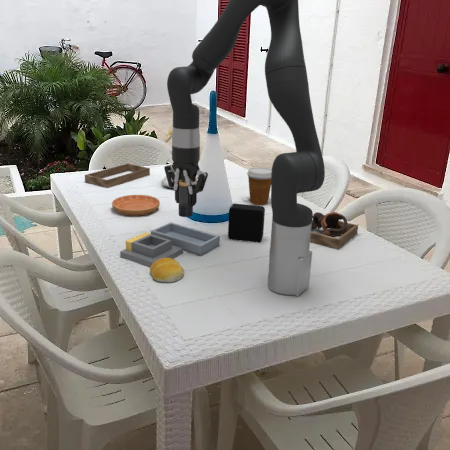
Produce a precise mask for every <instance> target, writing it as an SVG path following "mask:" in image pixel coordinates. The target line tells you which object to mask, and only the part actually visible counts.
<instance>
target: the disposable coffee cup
mask: <svg viewBox="0 0 450 450" xmlns="http://www.w3.org/2000/svg"><path fill="white" fill-rule="evenodd" d="M271 173H272V168H268V167H261V166H260V167H258V166H257V167H256V166H255V167H250V168H249V169H248V171H247V173H246V174H247V177H248V188H249V189H248V190H249V202H250V204H251V205H255V206H266V205H267V204H268V203H269V197H270V194H271V193H270V192H271Z"/></svg>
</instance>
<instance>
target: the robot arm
mask: <svg viewBox="0 0 450 450" xmlns="http://www.w3.org/2000/svg"><path fill="white" fill-rule="evenodd" d="M260 6H262V7H264V8H266V10H267V11H266V12H267V15H268V20H269V26H270V27H269V28H270V42H269V46H268V50H267V53H266V57H265V63H264V76H265V81H266V82H265V83H266V89H267V94H268V98H269V101H270V103H271V104H272V106H273V107H274V108H275V110H276V112H277V114H279V116H280V117H281V118H282V120H283V121H284V122H285V124H286V125H287V128H289V130H290V132H291V134H292V138H293V142H294V146H295V150H296V151H294V152H293V151H291V152H284V153H280V154H278V155H276V157H275V158H274V160H273V162H272V165H271V169H272V173H271V188H270V192H271V193H270V205H271V206H270V207H271V212H272V216H271V217H272V218H271V232H270V233H271V234H270V247H269V261H268V276H267V287H268V288H269V289H270V290H271V291H272V292H274V293H276V294H279V295H280V294H281V295H286V296H296V297H299V296H300V295H301V294H302V293H304V292H305V291H306V290H307V289H308V288H309V286H310V281H311V280H310V278H311V268H312V258H313V251H311V250H310V247H311V242H310V237H311V232H312V231H311V228H312V220H313V215H314V213H313V210H312V208H311V207H309V206H307V205H304V204H301V203H298V194H302V193H307V192H308V193H309V192H314V191H317V190H319V189H321V188H322V186H323V184H324V182H325V177H326V176H325V175H326V173H325V172H326V170H325V168H326V167H325V162H324V161H325V160H324V157H323V153H322V150H321V146H320V145H321V144H320V141H319V137H318V134H317V133H318V132H317V129H316V125H315V120H314V114H313V108H312V102H311V96H310V88H309V87H310V86H309V85H310V84H309V78H308V73H307V72H308V71H307V67H306V62H305V61H306V60H305V55H304V53H305V52H304V49H303V48H304V47H303V40H302V34H301V27H300V15H299V14H300V13H299V12H300V11H299V9H300V8H299V0H228V3H227V5H226V6H225V8H224V10H223V11H222V13H221V14H220V16H219V17H218V19H217V21H216V22H215V24H214V25H213V26H212V28H210V30H209V31H208V33H206V35H205V36H204V37H203V39H202V40H201V41H199V43H198V44H197V45H196V47H195V48H194V50H193V51H192V55H191V58H192V61H191V63H190V64H188V66H178V67H175V68H172V70H170V72H169V74H168V77H167V82H166V86H167V87H166V88H167V93H168V97H169V102H170V106H171V109H172V124H173V131H172V137H171V151H172V154H171V160H172V164H169V165H166V166H164V169H163V170H164V173H165V175H166V176H165V177H167V181H168V184H169V187H168V188H170V187H173V188H172V189H173V190H174V200H175V203H176V204H179V180H184V181H186V185H187V186H188V189H189V193H190V194H189V206H190V207H192V206H193V207H194V206H196V204H197V201H198V200H197V199H198V195H197V194H198V193H199V194H200V193H201V192H203V191H204V189H205V186H206V183H207V179H208V176H209V174H208V172H206V171H205V172H203V171H201V168H200V166H199V163H200V157H201V155H200V153H201V134H200V108H199V107H198V105H197V104H194V103H193V101H192V96H191V95H194V94H197V93H199V92H201V91H202V90H203V89H204V88H205V87H206V86H207V84H208V83H209V81H210V79H211V78H212V76H213V74H214V73H215V71H216V69H217V68H218V67H219V66H220V65H221V64H222V63H223V61H225V59H226V58H227V57H228V56H229V55H230V53H231V52H232V51H233V50H234V47H235V45H236V43H237V40H238V37H239V34H240V31H241V28H242V26H243V24H244V23H245V21H246V19H247V18H248V17H249V16H250V15H251V14H252V13H253V12H254V11H255V10H256V9H257V8H258V7H260ZM171 178H172V179H171ZM172 181H173V182H172ZM190 181H193V182H190ZM192 185H193V187H192Z"/></svg>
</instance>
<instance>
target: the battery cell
mask: <svg viewBox="0 0 450 450" xmlns="http://www.w3.org/2000/svg"><path fill="white" fill-rule="evenodd" d="M190 182H193V181H190ZM192 187H193V185H192ZM189 194H190V193H189V189H188V186H187V185H186V181H184V180H179V203H178V216H179V217H181V218H190V217H192V216H193V215H194V213H193V210H194V206H192V207H190V206H189Z"/></svg>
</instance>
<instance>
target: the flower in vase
mask: <svg viewBox="0 0 450 450" xmlns="http://www.w3.org/2000/svg"><path fill="white" fill-rule="evenodd" d="M172 131H173V123H172V124H171V126H169V128H168V130H167V132H166V133H165V138H164V139H163V141H164V143H168V142H170V141H171V140H172ZM169 154H171V155H172V150H170V151H169ZM171 179H172V178H171ZM172 182H173V181H172ZM161 184H162V185H163V186H165V187H166V188H171V189H174V188H173V187H169V184H168V181H167V177H166V176H165V177H164V178H163V179H162V180H161Z"/></svg>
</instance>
